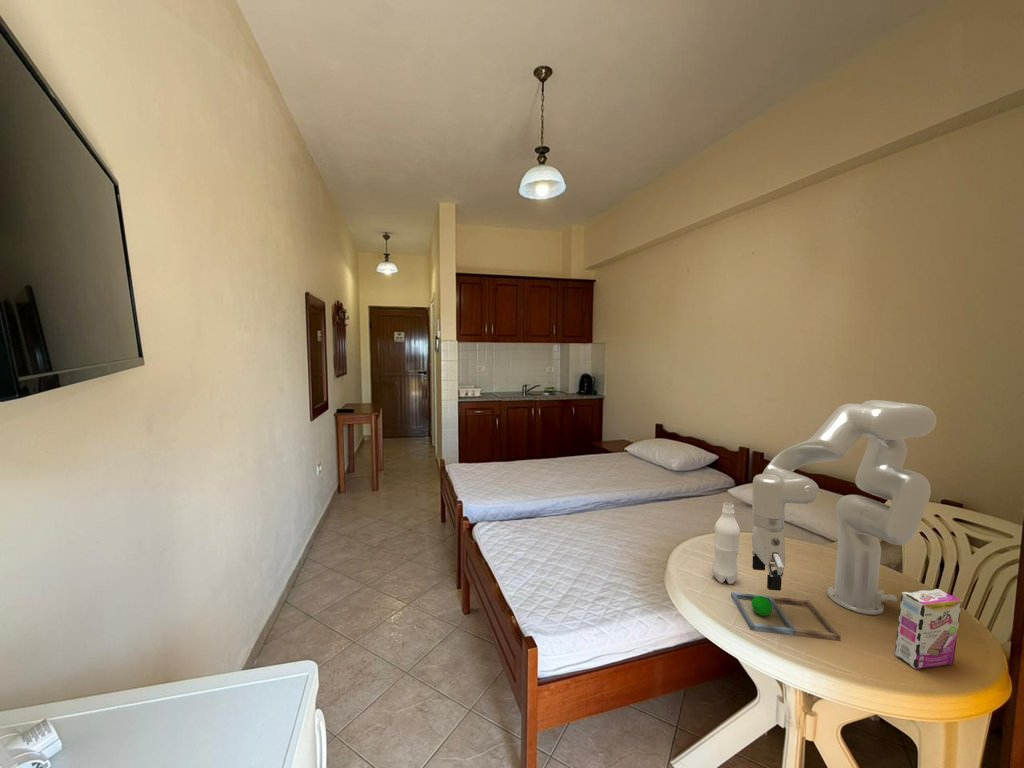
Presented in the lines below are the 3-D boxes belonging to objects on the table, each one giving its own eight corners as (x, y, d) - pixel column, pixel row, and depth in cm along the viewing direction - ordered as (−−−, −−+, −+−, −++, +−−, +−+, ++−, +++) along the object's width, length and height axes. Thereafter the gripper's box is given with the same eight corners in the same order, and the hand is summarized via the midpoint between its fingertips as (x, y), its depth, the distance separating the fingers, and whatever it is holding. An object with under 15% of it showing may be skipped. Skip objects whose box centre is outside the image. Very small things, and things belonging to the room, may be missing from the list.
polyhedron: (752, 605, 117) (753, 590, 116) (773, 612, 114) (774, 596, 113) (749, 614, 113) (750, 598, 113) (770, 622, 110) (771, 605, 109)
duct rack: (808, 604, 118) (809, 600, 117) (840, 640, 103) (840, 636, 103) (730, 595, 121) (731, 592, 121) (750, 629, 107) (750, 625, 107)
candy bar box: (917, 671, 93) (923, 604, 92) (893, 655, 98) (899, 591, 97) (956, 665, 95) (963, 599, 93) (931, 650, 100) (937, 587, 98)
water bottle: (735, 588, 125) (739, 510, 123) (709, 580, 129) (713, 505, 127) (738, 578, 131) (743, 503, 129) (714, 571, 135) (718, 498, 133)
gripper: (799, 535, 102) (796, 599, 103) (768, 508, 118) (767, 563, 120) (766, 533, 103) (764, 597, 105) (741, 507, 120) (739, 561, 121)
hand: (766, 579), depth 112 cm, fingers open, 9 cm apart
